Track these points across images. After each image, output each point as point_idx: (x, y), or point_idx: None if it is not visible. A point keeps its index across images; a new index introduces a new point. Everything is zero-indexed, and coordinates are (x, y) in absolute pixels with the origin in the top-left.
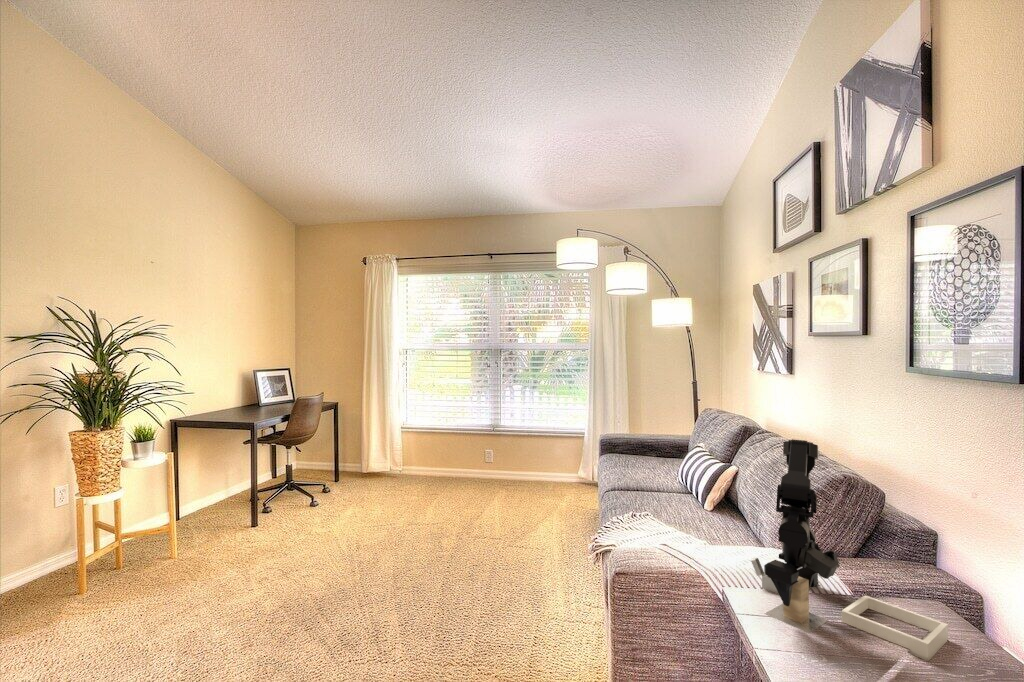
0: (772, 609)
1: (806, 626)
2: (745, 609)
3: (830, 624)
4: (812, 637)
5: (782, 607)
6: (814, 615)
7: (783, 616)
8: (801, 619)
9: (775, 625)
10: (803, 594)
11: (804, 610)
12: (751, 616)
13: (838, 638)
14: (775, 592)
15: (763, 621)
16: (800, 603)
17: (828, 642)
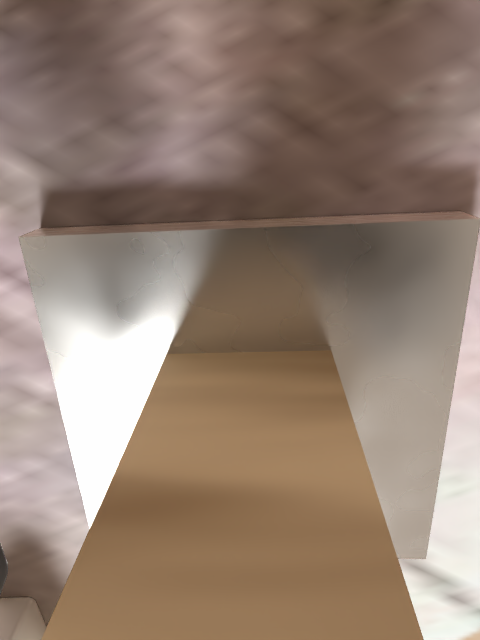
0: None
1: (355, 293)
2: None
3: (17, 218)
4: (423, 194)
5: None
6: (66, 349)
7: None
8: (325, 365)
9: (467, 447)
10: (288, 607)
11: (253, 409)
12: (469, 576)
13: (212, 30)
14: (23, 637)
15: (476, 512)
16: (375, 493)
17: (393, 50)
